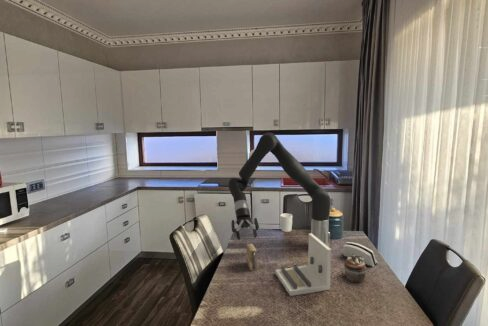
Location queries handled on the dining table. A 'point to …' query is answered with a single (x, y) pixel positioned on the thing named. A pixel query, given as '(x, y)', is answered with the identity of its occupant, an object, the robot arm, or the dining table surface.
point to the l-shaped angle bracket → (309, 271)
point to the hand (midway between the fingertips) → (247, 238)
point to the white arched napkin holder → (360, 252)
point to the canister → (335, 224)
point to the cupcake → (355, 268)
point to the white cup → (286, 222)
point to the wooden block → (251, 257)
